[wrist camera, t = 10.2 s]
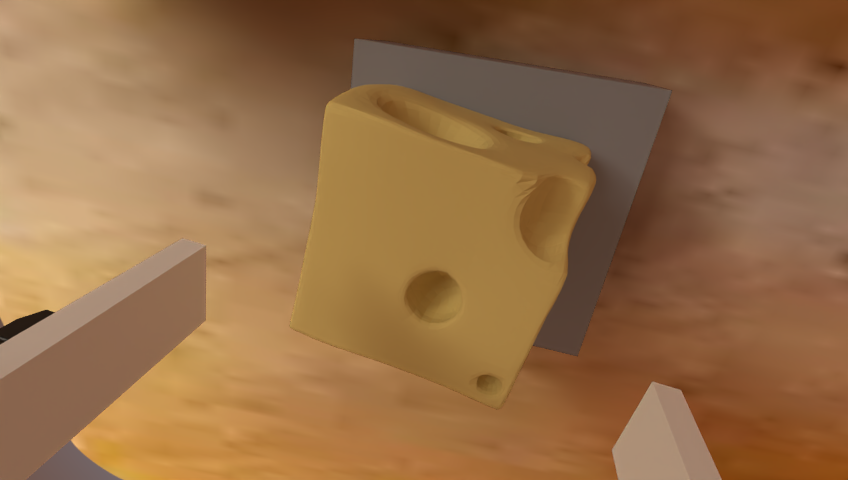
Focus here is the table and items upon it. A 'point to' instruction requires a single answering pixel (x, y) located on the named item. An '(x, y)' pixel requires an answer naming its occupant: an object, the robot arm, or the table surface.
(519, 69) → the charcoal block
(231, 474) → the table surface
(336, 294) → the cheese
